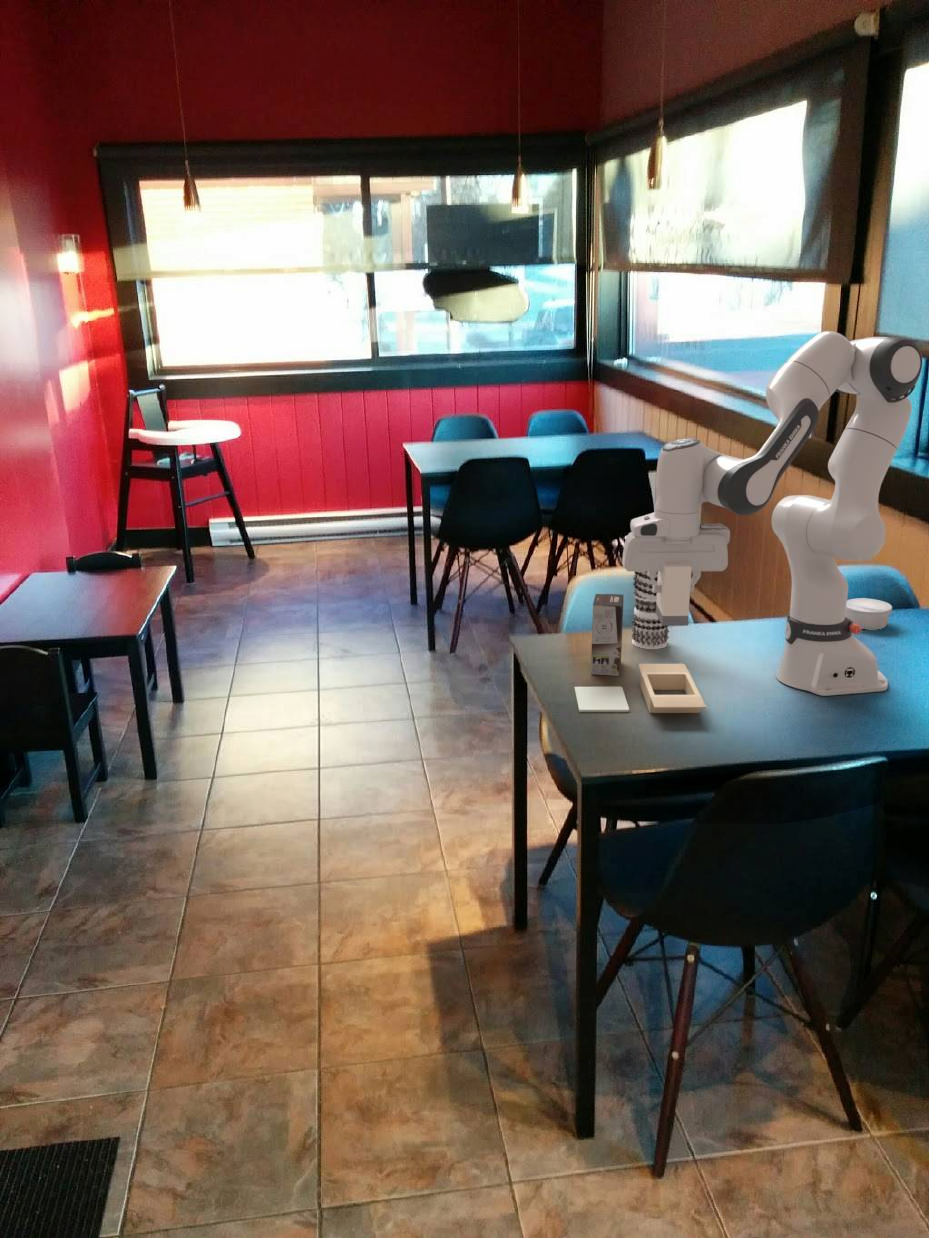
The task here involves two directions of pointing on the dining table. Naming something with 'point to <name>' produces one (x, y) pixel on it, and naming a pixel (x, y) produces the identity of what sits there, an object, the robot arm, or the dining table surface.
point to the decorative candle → (647, 615)
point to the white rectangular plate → (601, 699)
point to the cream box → (674, 594)
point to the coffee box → (607, 634)
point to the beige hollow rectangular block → (669, 680)
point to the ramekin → (868, 613)
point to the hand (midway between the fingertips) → (672, 592)
